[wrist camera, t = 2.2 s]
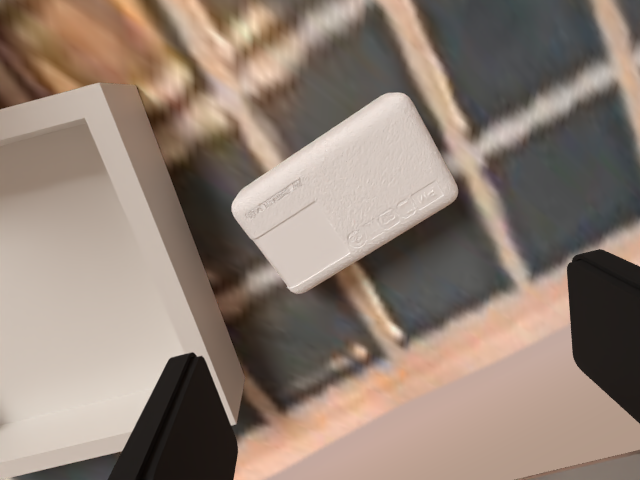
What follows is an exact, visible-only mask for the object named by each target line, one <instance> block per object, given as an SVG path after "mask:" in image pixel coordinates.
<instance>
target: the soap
mask: <svg viewBox="0 0 640 480" xmlns="http://www.w3.org/2000/svg"><path fill="white" fill-rule="evenodd" d="M457 195H458V187H457V184H456V182H455V180H454V178H453V176H452V175H451V173H450V171H449V169H448V167H447V165H446V163H445V162H444V160H443V158H442V156H441V154H440V153H439V151H438V149H437V147H436V145H435V143H434V141H433V139H432V137H431V136H430V134H429V132H428V130H427V128H426V126H425V124H424V123H423V121H422V119H421V117H420V115H419V113H418V112H417V110H416V107H415V105H414V104H413V103H412V101H411V99H410V98H409V97H408V96H407V95H405V94H404V93H399V92H398V93H387V94H384V95H382V96H380V97H379V98H377V99H376V100H374V101H373V102H371V103H370V104H368V105H367V106H365V107H364V108H362V109H361V110H359V111H358V112H356V113H355V114H353V115H352V116H350V117H349V118H347V119H346V120H344V121H343V122H341V123H340V124H338V125H337V126H335V127H334V128H332V129H331V130H329V131H328V132H326V133H325V134H323V135H322V136H320V137H319V138H317V139H316V140H314V141H313V142H311V143H310V144H308V145H307V146H305V147H304V148H302V149H301V150H299V151H298V152H297V153H295V154H293V155H292V156H291V157H289V158H288V159H286V160H285V161H283V162H281V163H280V164H279V165H277V166H276V167H274V168H273V169H271V170H270V171H268V172H267V173H265V174H264V175H262V176H261V177H259V178H258V179H256V180H255V181H253V182H252V183H250V184H249V185H247V186H246V187H244V188H243V189H242V190H241V191H240V192H239V193H238V195H237V197H236V198H235V199H234V201H233V204H232V213H233V216H234V217H235V219H236V220H237V222H238V223H239V224H240V226H241V227H242V228H243V229H244V231H245V232H246V234H247V235H248V236H249V238H250V239H251V240H253V241H254V242H255V244H256V245H257V246H258V248H259V249H260V250H261V252H262V253H263V254H264V256H265V257H266V258H267V260H268V261H269V262H270V264H271V265H272V266H273V268H274V269H275V270H276V271H277V273H278V274H279V275H280V277H281V278H282V279H283V281H284V282H285V283H286V285H287V287H288V289H289V290H290V291H291V292H293V293H296V294H302V293H304V292H307V291H308V290H310V289H312V288H313V287H315V286H317V285H318V284H320V283H321V282H323V281H325V280H326V279H328V278H330V277H331V276H333V275H335V274H336V273H338V272H340V271H341V270H343V269H344V268H346V267H348V266H349V265H351V264H353V263H355V262H356V261H358V260H360V259H361V258H363V257H364V256H366V255H368V254H370V253H371V252H372V251H374V250H376V249H378V248H379V247H381V246H382V245H384V244H386V243H387V242H389V241H391V240H392V239H394V238H395V237H397V236H399V235H400V234H402V233H403V232H405V231H407V230H409V229H410V228H412V227H414V226H415V225H417V224H419V223H420V222H422V221H423V220H425V219H427V218H428V217H430V216H431V215H433V214H435V213H437V212H438V211H440V210H441V209H443V208H445V207H446V206H448V205H449V204H451V203H452V202H453V201H454V200H455V199H456V198H457Z"/></svg>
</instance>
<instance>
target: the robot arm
mask: <svg viewBox="0 0 640 480" xmlns="http://www.w3.org/2000/svg"><path fill="white" fill-rule="evenodd" d="M567 276H568V291H569V306H570V320H571V335H572V349H573V357H574V360H575V362H576V364H577V366H578V367H579V368H580V369H581V370H582V371H583V372H584V373H585V374H586V375H587V376H588V377H589V378H590V379H592V380H593V381H594V382H595V383H596V384H597V385H598V386H599V387H600V388H601V389H602V390H604V391H605V392H606V393H607V394H608V395H609V396H610V397H611V398H612V399H613V400H615V401H616V402H617V403H618V404H619V405H620V406H621V407H622V408H623V409H624V410H626V411H627V412H628V413H629V414H630V415H631V416H632V417H633V418H634V419H635V420H636V421H638V422H639V423H640V267H639V266H637V265H635V264H633V263H631V262H628V261H626V260H624V259H622V258H620V257H617V256H615V255H613V254H611V253H609V252H606V251H604V250H601V249H599V250H595V251H591V252H587V253H583V254H579V255H575V256H574V257H573V260H572V262H571V263H569V264H568V266H567ZM237 454H238V446H237V440H236V437H235V435H234V432H233V429H232V427H231V424H230V422H229V419H228V417H227V414H226V412H225V409H224V407H223V404H222V401H221V399H220V396H219V394H218V391H217V389H216V386H215V384H214V381H213V378H212V376H211V373H210V371H209V368H208V366H207V363H206V361H205V359H204V357H203V356H199V357H197V355H196V354H195V353H193V352H191V353H187V354H183V355H179V356H175V357H171V358H170V359H169V360H168V362H167V364H166V366H165V368H164V370H163V372H162V374H161V376H160V378H159V380H158V382H157V384H156V386H155V388H154V389H153V391H152V393H151V395H150V397H149V399H148V401H147V403H146V405H145V407H144V409H143V411H142V413H141V415H140V417H139V419H138V421H137V423H136V425H135V427H134V429H133V431H132V433H131V435H130V437H129V439H128V441H127V443H126V445H125V447H124V449H123V451H122V453H121V455H120V457H119V459H118V461H117V463H116V464H115V466H114V468H113V470H112V472H111V474H110V476H109V478H108V480H233V478H234V473H235V467H236V461H237ZM516 480H640V450H638V451H633V452H629V453H625V454H621V455H617V456H612V457H608V458H604V459H600V460H595V461H591V462H587V463H582V464H578V465H574V466H570V467H565V468H561V469H557V470H553V471H549V472H545V473H541V474H536V475H532V476H528V477H524V478H520V479H516Z"/></svg>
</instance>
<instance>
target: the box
mask: <svg viewBox="0 0 640 480" xmlns="http://www.w3.org/2000/svg"><path fill="white" fill-rule="evenodd" d="M191 352H193V353H195V354H196V355H197V357H199V356H203V357H204V359H205V361H206V363H207V366H208V368H209V371H210V373H211V376H212V378H213V381H214V384H215V386H216V389H217V391H218V394H219V396H220V399H221V401H222V404H223V407H224V409H225V412H226V414H227V417H228V419H229V422H230V424H231V425H235V424H237V418H238V413H239V408H240V403H241V398H242V393H243V387H244V382H245V376H244V373H243V371H242V368H241V365H240V363H239V360H238V357H237V355H236V352H235V349H234V347H233V344H232V341H231V338H230V336H229V333H228V330H227V328H226V325H225V322H224V320H223V317H222V314H221V312H220V309H219V306H218V304H217V301H216V298H215V296H214V293H213V290H212V288H211V285H210V282H209V280H208V277H207V274H206V272H205V269H204V266H203V264H202V261H201V258H200V256H199V253H198V250H197V248H196V245H195V242H194V240H193V237H192V234H191V232H190V229H189V226H188V224H187V221H186V218H185V216H184V213H183V210H182V208H181V205H180V202H179V200H178V197H177V194H176V192H175V189H174V186H173V184H172V181H171V178H170V176H169V173H168V170H167V168H166V165H165V162H164V160H163V157H162V154H161V152H160V149H159V146H158V144H157V141H156V138H155V136H154V133H153V130H152V128H151V125H150V122H149V119H148V117H147V114H146V111H145V109H144V106H143V103H142V101H141V98H140V95H139V93H138V90H137V87H136V85H127V84H112V83H96V84H92V85H89V86H85V87H81V88H77V89H74V90H70V91H66V92H63V93H59V94H55V95H52V96H48V97H44V98H40V99H37V100H33V101H29V102H26V103H22V104H18V105H15V106H11V107H7V108H4V109H0V480H2V479H6V478H10V477H14V476H19V475H23V474H27V473H31V472H36V471H40V470H44V469H48V468H53V467H57V466H61V465H65V464H70V463H74V462H78V461H82V460H87V459H91V458H95V457H99V456H104V455H108V454H112V453H116V452H121V451H123V449H124V447H125V445H126V443H127V441H128V439H129V437H130V435H131V433H132V431H133V429H134V427H135V425H136V423H137V421H138V419H139V417H140V415H141V413H142V411H143V409H144V407H145V405H146V403H147V401H148V399H149V397H150V395H151V393H152V391H153V389H154V388H155V386H156V384H157V382H158V380H159V378H160V376H161V374H162V372H163V370H164V368H165V366H166V364H167V362H168V360H169V359H170V358H171V357H175V356H179V355H183V354H187V353H191Z"/></svg>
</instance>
